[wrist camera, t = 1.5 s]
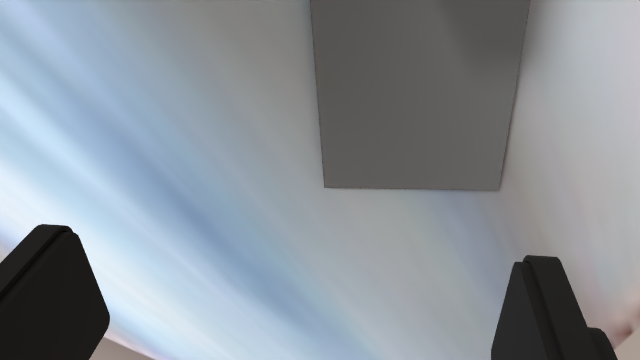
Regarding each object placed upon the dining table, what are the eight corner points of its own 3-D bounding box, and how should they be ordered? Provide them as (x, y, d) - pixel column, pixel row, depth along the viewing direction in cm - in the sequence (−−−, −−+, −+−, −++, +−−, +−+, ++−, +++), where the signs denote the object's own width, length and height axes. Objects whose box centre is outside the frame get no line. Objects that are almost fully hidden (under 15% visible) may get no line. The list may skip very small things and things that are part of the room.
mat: (311, -5, 26) (310, -2, 25) (529, -14, 24) (532, -11, 24) (325, 182, 32) (324, 187, 32) (496, 184, 31) (498, 190, 30)
